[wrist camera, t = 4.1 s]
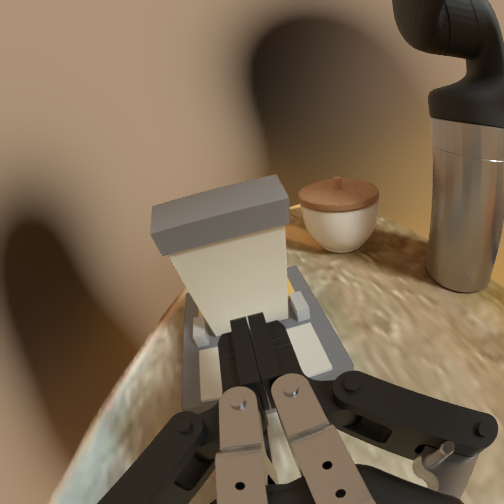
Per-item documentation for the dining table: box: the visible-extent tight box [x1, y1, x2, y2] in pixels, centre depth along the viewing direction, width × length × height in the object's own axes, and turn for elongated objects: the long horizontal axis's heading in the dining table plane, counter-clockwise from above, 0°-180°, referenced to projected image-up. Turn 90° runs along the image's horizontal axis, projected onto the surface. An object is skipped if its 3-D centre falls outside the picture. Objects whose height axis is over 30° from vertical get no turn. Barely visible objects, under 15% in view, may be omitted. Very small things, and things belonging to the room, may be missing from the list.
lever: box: [150, 175, 290, 337], centre depth 17 cm, size 2×6×12 cm, turn 99°
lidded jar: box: [298, 177, 379, 253], centre depth 35 cm, size 11×11×9 cm
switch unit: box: [182, 266, 354, 415], centre depth 23 cm, size 14×12×4 cm
